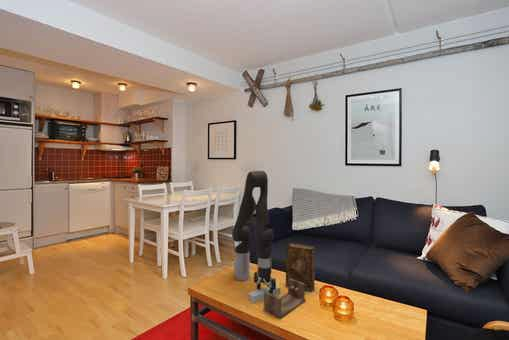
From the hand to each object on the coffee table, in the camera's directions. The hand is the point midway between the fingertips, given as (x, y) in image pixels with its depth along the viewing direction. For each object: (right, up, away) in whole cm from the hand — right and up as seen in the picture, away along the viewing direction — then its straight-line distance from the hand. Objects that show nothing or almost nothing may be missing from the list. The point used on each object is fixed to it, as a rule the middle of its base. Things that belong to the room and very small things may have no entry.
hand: (264, 293), depth 149 cm
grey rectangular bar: (0, -2, 0) cm, 2 cm away
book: (+22, -1, +10) cm, 24 cm away
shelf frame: (+10, -2, -9) cm, 14 cm away
